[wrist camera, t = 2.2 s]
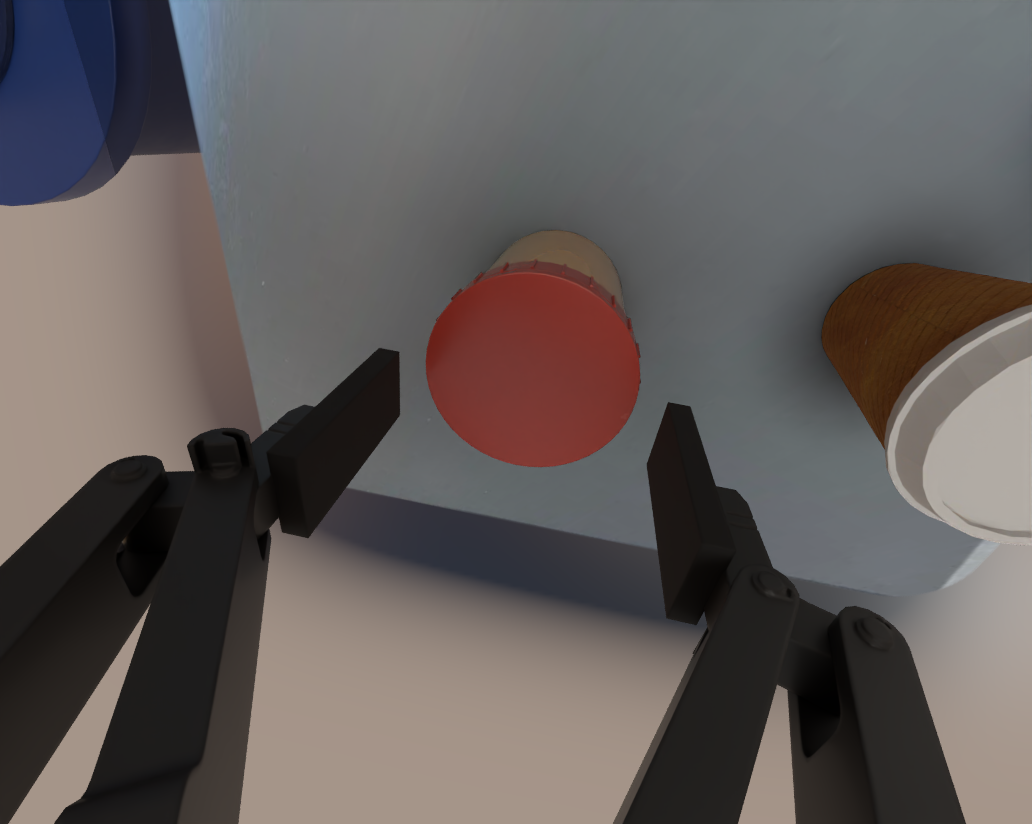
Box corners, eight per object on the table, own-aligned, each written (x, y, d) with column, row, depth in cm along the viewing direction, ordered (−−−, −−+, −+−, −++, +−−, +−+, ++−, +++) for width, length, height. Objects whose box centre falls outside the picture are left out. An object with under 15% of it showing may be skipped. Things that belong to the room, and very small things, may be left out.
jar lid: (434, 426, 23) (422, 447, 21) (441, 242, 18) (426, 252, 16) (611, 460, 22) (612, 485, 20) (664, 279, 17) (670, 293, 16)
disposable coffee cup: (853, 206, 23) (1058, 264, 12) (1045, 257, 22) (1415, 358, 12) (757, 374, 28) (847, 513, 17) (913, 417, 27) (1096, 582, 17)
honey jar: (481, 351, 30) (433, 436, 21) (493, 219, 26) (439, 260, 17) (604, 373, 29) (605, 470, 21) (638, 242, 25) (656, 297, 16)
